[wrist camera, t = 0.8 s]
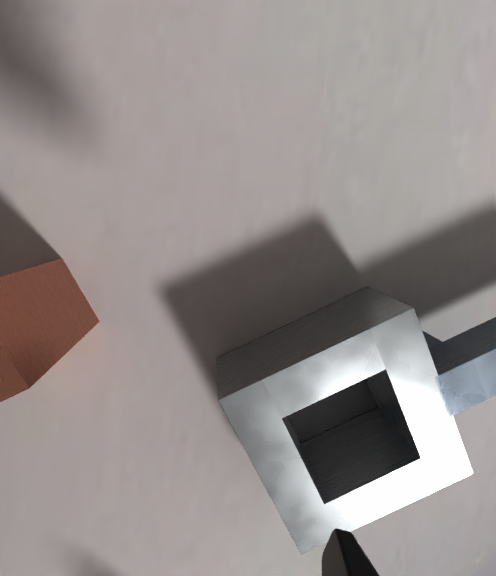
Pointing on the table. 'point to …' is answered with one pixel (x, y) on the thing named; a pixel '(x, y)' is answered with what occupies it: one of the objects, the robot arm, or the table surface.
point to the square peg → (38, 323)
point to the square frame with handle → (365, 428)
